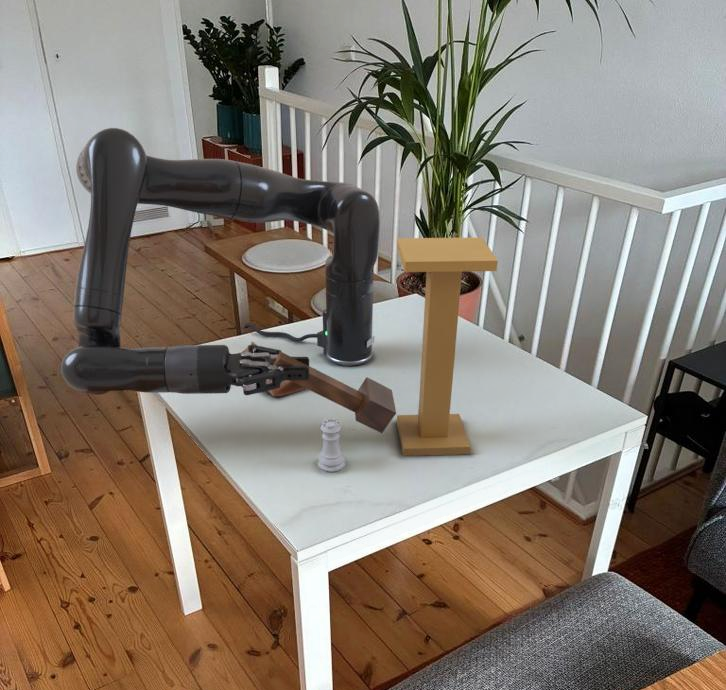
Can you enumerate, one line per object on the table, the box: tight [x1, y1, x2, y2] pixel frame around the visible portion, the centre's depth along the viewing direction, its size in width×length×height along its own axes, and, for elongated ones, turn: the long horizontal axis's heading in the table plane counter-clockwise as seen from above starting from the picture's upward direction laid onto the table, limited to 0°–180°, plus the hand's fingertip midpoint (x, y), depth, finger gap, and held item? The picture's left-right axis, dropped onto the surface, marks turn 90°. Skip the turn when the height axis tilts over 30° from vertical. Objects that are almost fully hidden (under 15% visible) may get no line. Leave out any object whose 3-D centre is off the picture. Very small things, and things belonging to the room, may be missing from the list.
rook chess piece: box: [317, 417, 346, 473], centre depth 115 cm, size 4×4×8 cm
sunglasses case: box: [240, 341, 307, 398], centre depth 142 cm, size 18×7×7 cm, turn 43°
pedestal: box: [396, 237, 499, 457], centre depth 116 cm, size 13×11×32 cm
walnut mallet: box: [273, 351, 397, 434], centre depth 118 cm, size 20×8×4 cm, turn 93°
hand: (308, 368), depth 116 cm, fingers closed on walnut mallet, 2 cm apart
